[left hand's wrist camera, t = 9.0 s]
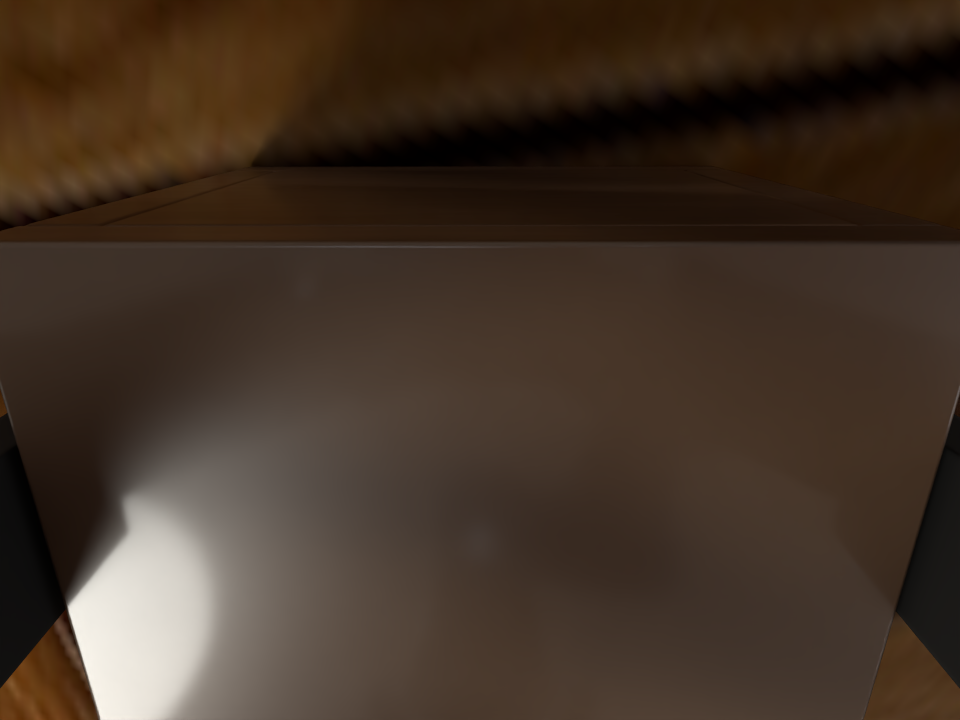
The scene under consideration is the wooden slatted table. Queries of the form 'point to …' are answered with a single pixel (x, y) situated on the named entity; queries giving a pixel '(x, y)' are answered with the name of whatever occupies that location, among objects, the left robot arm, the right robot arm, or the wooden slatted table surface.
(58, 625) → the wooden slatted table surface
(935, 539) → the left robot arm
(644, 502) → the cabinet
